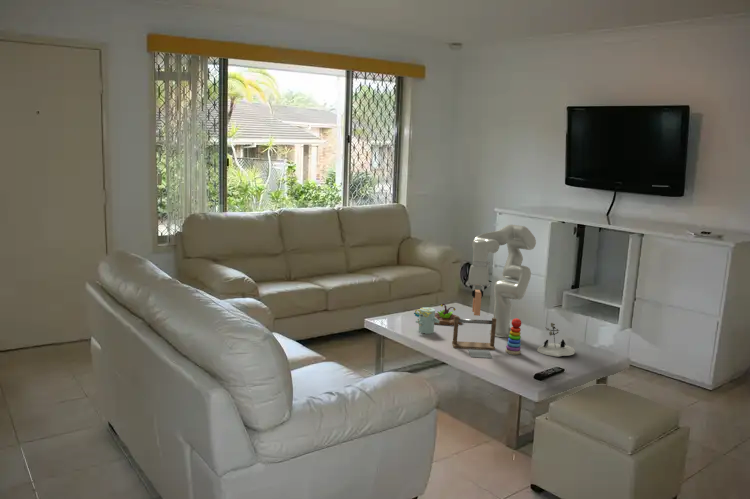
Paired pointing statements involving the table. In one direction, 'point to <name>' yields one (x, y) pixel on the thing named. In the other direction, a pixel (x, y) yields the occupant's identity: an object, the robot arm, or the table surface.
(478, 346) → the rack
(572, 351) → the figurine
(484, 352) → the mat
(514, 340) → the stacking toy
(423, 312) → the character sculpture
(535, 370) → the table surface
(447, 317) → the plant
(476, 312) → the tall peach block
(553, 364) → the table surface
